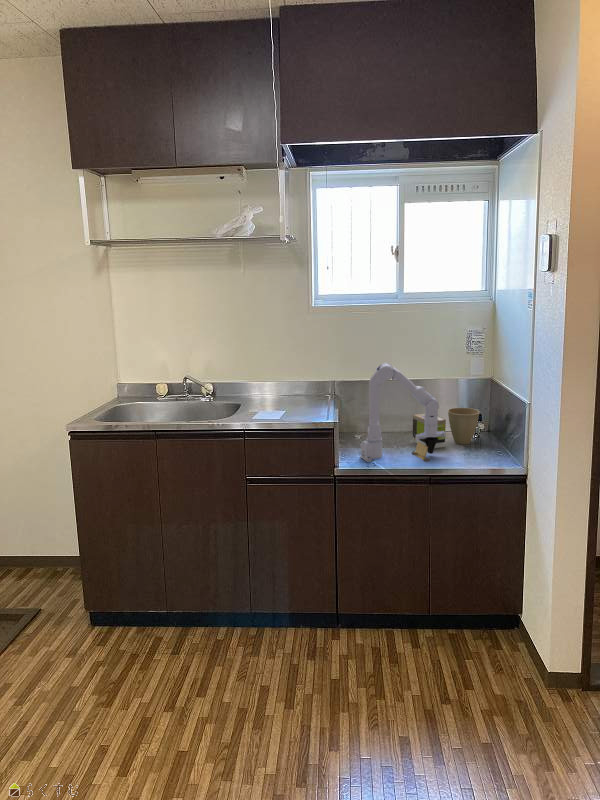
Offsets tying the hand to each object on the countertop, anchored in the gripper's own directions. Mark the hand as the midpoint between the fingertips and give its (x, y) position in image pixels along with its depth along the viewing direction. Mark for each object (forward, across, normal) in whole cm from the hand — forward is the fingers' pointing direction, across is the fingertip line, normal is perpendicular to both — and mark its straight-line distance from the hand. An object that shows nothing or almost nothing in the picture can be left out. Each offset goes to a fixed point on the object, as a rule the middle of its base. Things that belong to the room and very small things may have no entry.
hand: (430, 452), depth 276 cm
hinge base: (+3, -1, 0) cm, 3 cm away
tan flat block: (-1, -5, 0) cm, 5 cm away
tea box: (+3, +9, +16) cm, 19 cm away
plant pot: (+3, +27, +14) cm, 31 cm away
